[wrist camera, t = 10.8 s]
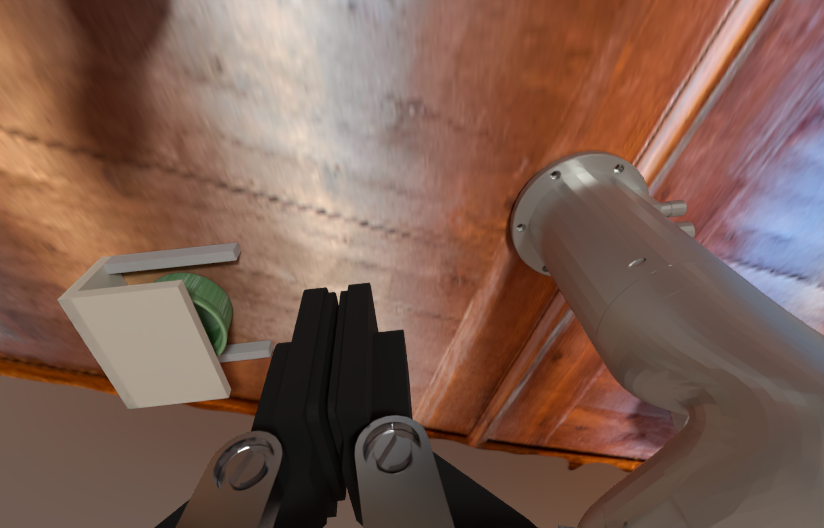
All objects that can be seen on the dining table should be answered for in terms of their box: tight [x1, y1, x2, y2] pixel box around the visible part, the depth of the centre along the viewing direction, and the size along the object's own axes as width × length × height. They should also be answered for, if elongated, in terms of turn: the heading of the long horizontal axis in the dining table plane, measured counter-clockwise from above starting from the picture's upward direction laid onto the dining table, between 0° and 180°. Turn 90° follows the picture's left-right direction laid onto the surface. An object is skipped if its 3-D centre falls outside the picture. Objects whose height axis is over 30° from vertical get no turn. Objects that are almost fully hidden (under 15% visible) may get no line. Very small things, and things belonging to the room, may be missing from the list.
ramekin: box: [154, 273, 232, 358], centre depth 42 cm, size 9×9×4 cm
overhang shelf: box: [58, 243, 273, 409], centre depth 41 cm, size 12×13×6 cm
